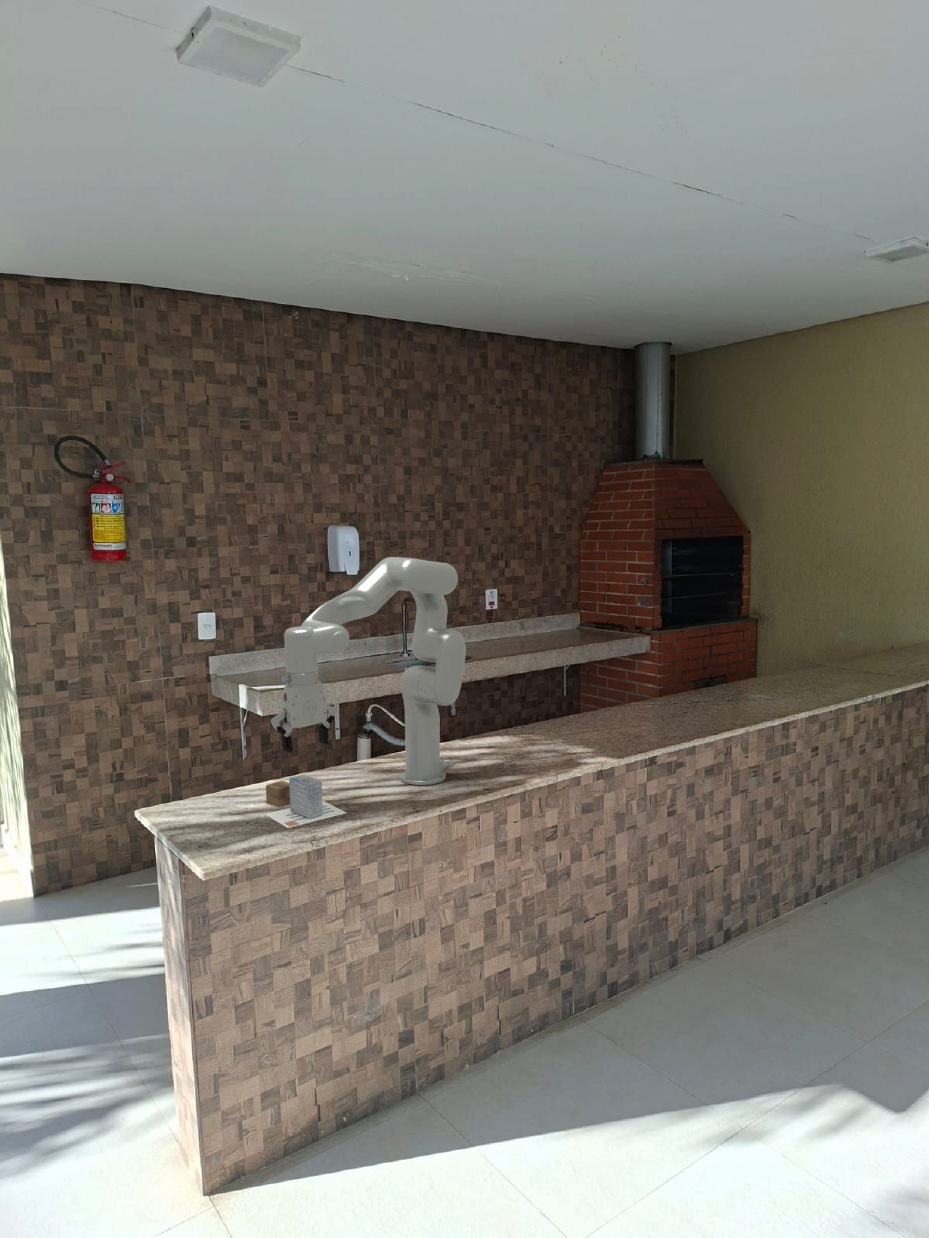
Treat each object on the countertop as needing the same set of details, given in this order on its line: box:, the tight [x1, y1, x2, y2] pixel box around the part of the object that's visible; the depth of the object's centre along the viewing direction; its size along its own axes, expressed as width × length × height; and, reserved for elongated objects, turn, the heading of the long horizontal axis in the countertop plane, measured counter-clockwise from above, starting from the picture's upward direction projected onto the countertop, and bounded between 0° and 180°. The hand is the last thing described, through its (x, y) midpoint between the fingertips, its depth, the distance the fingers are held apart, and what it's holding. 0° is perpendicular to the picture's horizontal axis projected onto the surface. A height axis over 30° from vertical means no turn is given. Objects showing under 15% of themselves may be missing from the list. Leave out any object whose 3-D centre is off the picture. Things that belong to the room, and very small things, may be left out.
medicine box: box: [288, 774, 323, 819], centre depth 214 cm, size 8×4×9 cm, turn 45°
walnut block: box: [265, 780, 290, 808], centre depth 222 cm, size 5×5×5 cm
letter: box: [264, 799, 347, 829], centre depth 214 cm, size 16×12×1 cm
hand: (306, 747), depth 213 cm, fingers open, 9 cm apart
